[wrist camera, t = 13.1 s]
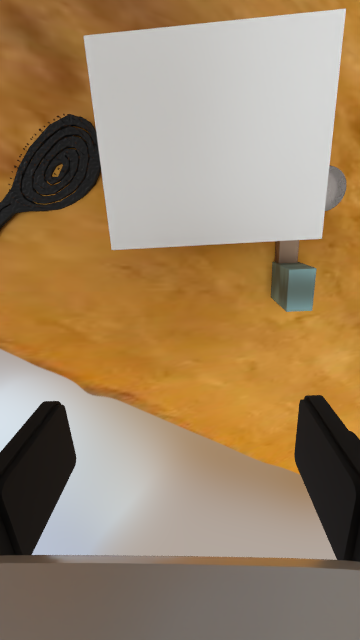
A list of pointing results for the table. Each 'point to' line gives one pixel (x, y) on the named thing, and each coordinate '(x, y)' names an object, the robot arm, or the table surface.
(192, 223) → the cabinet
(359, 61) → the table surface
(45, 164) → the hairbrush
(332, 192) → the silver metal dome
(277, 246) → the mallet
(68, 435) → the robot arm
